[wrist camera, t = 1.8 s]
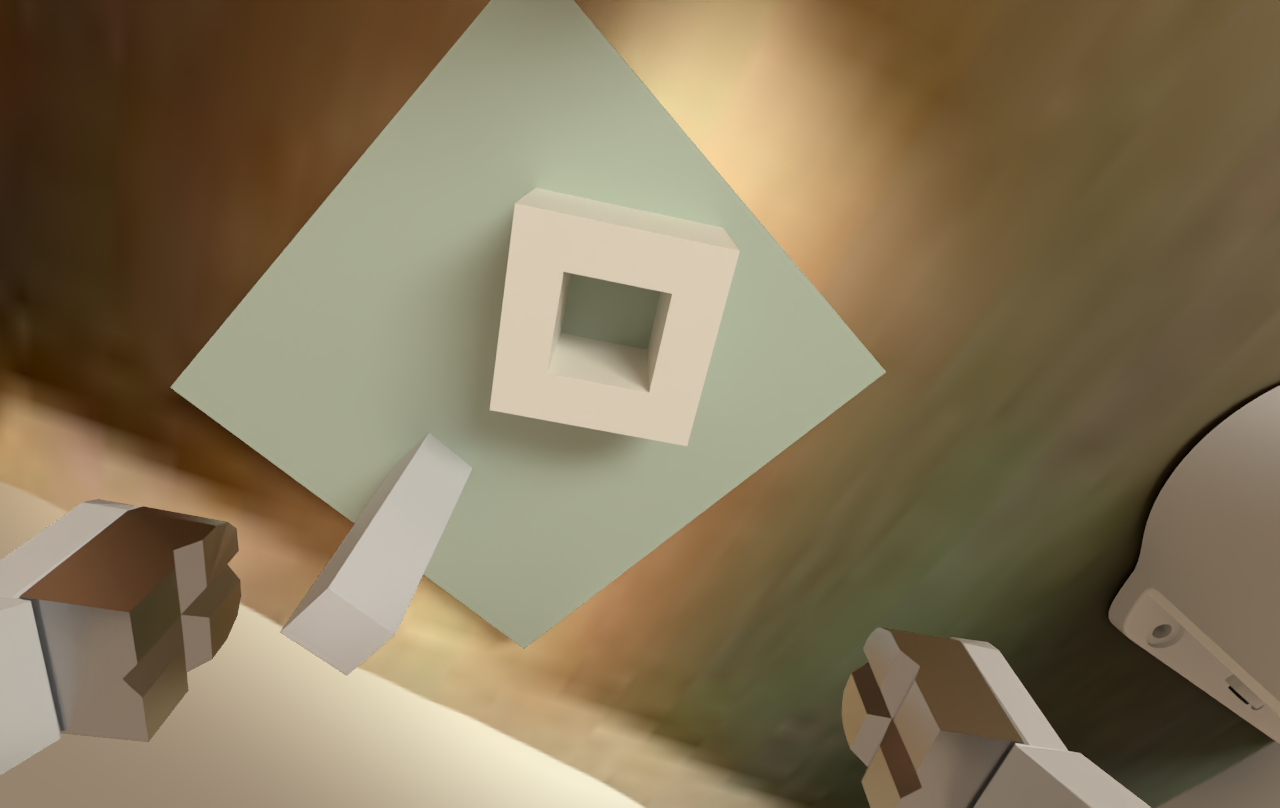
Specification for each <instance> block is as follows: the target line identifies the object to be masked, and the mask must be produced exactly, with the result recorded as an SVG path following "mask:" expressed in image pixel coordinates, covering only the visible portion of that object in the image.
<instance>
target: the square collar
mask: <svg viewBox="0 0 1280 808" xmlns="http://www.w3.org/2000/svg"><path fill="white" fill-rule="evenodd" d="M739 252H740V250H739V249H738V248H737V246H736V245H735V244H734V242H733V241H732V240H731V238H730V237H729V236H728V234H727V233H726V231H725V230H724V229H723V228H721V227H716V226H712V225H707V224H703V223H698V222H693V221H689V220H684V219H679V218H675V217H670V216H665V215H661V214H656V213H651V212H647V211H642V210H637V209H633V208H628V207H623V206H619V205H614V204H609V203H605V202H600V201H596V200H591V199H586V198H582V197H577V196H572V195H568V194H563V193H558V192H554V191H549V190H544V189H540V188H535V189H533V190H532V191H531V192H529V193H528V194H527V195H525V196H524V197H523V198H521V199H520V200H519V201H517V202H516V203H515V207H514V215H513V223H512V231H511V239H510V247H509V256H508V264H507V272H506V280H505V288H504V296H503V304H502V313H501V321H500V329H499V337H498V345H497V353H496V361H495V369H494V378H493V386H492V394H491V402H490V410H492V411H497V412H503V413H508V414H514V415H519V416H524V417H530V418H535V419H541V420H546V421H552V422H557V423H563V424H568V425H574V426H579V427H584V428H590V429H595V430H601V431H606V432H612V433H617V434H623V435H628V436H633V437H639V438H644V439H650V440H655V441H661V442H666V443H672V444H677V445H683V446H687V445H688V441H689V438H690V434H691V430H692V427H693V423H694V419H695V416H696V412H697V408H698V404H699V401H700V397H701V393H702V390H703V386H704V382H705V378H706V375H707V371H708V367H709V364H710V360H711V356H712V352H713V349H714V345H715V341H716V338H717V334H718V330H719V327H720V323H721V319H722V315H723V312H724V308H725V304H726V301H727V297H728V293H729V289H730V286H731V282H732V278H733V275H734V271H735V267H736V263H737V260H738V256H739ZM571 273H572V274H577V275H582V276H587V277H592V278H597V279H602V280H606V281H611V282H616V283H621V284H626V285H631V286H636V287H641V288H646V289H651V290H655V291H660V296H659V300H658V305H657V309H656V314H655V318H654V323H653V327H652V331H651V336H650V340H649V345H648V349H642V348H637V347H632V346H627V345H621V344H616V343H611V342H606V341H601V340H596V339H591V338H586V337H581V336H575V335H570V334H565V333H561V332H562V326H563V320H564V314H565V308H566V302H567V296H568V289H569V283H570V277H571Z"/></svg>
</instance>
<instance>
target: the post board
mask: <svg viewBox="0 0 1280 808" xmlns="http://www.w3.org/2000/svg"><path fill="white" fill-rule="evenodd" d="M535 188H540V189H544V190H549V191H554V192H558V193H563V194H568V195H572V196H577V197H582V198H586V199H591V200H596V201H600V202H605V203H609V204H614V205H619V206H623V207H628V208H633V209H637V210H642V211H647V212H651V213H656V214H661V215H665V216H670V217H675V218H679V219H684V220H689V221H693V222H698V223H703V224H707V225H712V226H716V227H721V228H723V229H724V230H725V231H726V233H727V234H728V236H729V237H730V238H731V240H732V241H733V242H734V244H735V245H736V246H737V248H738V249H739V250H740V252H739V256H738V260H737V263H736V267H735V271H734V275H733V278H732V282H731V286H730V289H729V293H728V297H727V301H726V304H725V308H724V312H723V315H722V319H721V323H720V327H719V330H718V334H717V338H716V341H715V345H714V349H713V352H712V356H711V360H710V364H709V367H708V371H707V375H706V378H705V382H704V386H703V390H702V393H701V397H700V401H699V404H698V408H697V412H696V416H695V419H694V423H693V427H692V430H691V434H690V438H689V441H688V445H687V446H683V445H677V444H672V443H666V442H661V441H655V440H650V439H644V438H639V437H633V436H628V435H623V434H617V433H612V432H606V431H601V430H595V429H590V428H584V427H579V426H574V425H568V424H563V423H557V422H552V421H546V420H541V419H535V418H530V417H524V416H519V415H514V414H508V413H503V412H497V411H492V410H490V402H491V394H492V386H493V378H494V369H495V361H496V353H497V345H498V337H499V329H500V321H501V313H502V304H503V296H504V288H505V280H506V272H507V264H508V256H509V247H510V239H511V231H512V223H513V215H514V207H515V203H516V202H517V201H519V200H520V199H521V198H523V197H524V196H525V195H527V194H528V193H529V192H531V191H532V190H533V189H535ZM659 296H660V291H655V290H651V289H646V288H641V287H636V286H631V285H626V284H621V283H616V282H611V281H606V280H602V279H597V278H592V277H587V276H582V275H577V274H572V273H571V277H570V283H569V289H568V296H567V302H566V308H565V314H564V320H563V326H562V332H561V333H565V334H570V335H575V336H581V337H586V338H591V339H596V340H601V341H606V342H611V343H616V344H621V345H627V346H632V347H637V348H642V349H648V345H649V340H650V336H651V331H652V327H653V323H654V318H655V314H656V309H657V305H658V300H659ZM885 372H886V371H885V370H884V369H883V368H882V367H881V365H880V364H879V363H878V362H877V361H876V359H875V358H874V357H873V356H872V355H871V353H870V352H869V351H868V350H867V349H866V348H865V346H864V345H863V344H862V343H861V342H860V340H859V339H858V338H857V337H856V336H855V334H854V333H853V332H852V331H851V330H850V328H849V327H848V326H847V325H846V324H845V323H844V321H843V320H842V319H841V318H840V317H839V315H838V314H837V313H836V312H835V311H834V309H833V308H832V307H831V306H830V305H829V303H828V302H827V301H826V300H825V299H824V298H823V296H822V295H821V294H820V293H819V292H818V290H817V289H816V288H815V287H814V286H813V284H812V283H811V282H810V281H809V280H808V278H807V277H806V276H805V275H804V274H803V273H802V271H801V270H800V269H799V268H798V267H797V265H796V264H795V263H794V262H793V261H792V259H791V258H790V257H789V256H788V255H787V254H786V252H785V251H784V250H783V249H782V248H781V246H780V245H779V244H778V243H777V242H776V240H775V239H774V238H773V237H772V236H771V234H770V233H769V232H768V231H767V230H766V229H765V227H764V226H763V225H762V224H761V223H760V221H759V220H758V219H757V218H756V217H755V215H754V214H753V213H752V212H751V211H750V209H749V208H748V207H747V206H746V205H745V204H744V202H743V201H742V200H741V199H740V198H739V196H738V195H737V194H736V193H735V192H734V190H733V189H732V188H731V187H730V186H729V184H728V183H727V182H726V181H725V180H724V179H723V177H722V176H721V175H720V174H719V173H718V171H717V170H716V169H715V168H714V167H713V165H712V164H711V163H710V162H709V161H708V159H707V158H706V157H705V156H704V155H703V154H702V152H701V151H700V150H699V149H698V148H697V146H696V145H695V144H694V143H693V142H692V140H691V139H690V138H689V137H688V136H687V134H686V133H685V132H684V131H683V130H682V129H681V127H680V126H679V125H678V124H677V123H676V121H675V120H674V119H673V118H672V117H671V115H670V114H669V113H668V112H667V111H666V109H665V108H664V107H663V106H662V105H661V104H660V102H659V101H658V100H657V99H656V98H655V96H654V95H653V94H652V93H651V92H650V90H649V89H648V88H647V87H646V86H645V84H644V83H643V82H642V81H641V80H640V79H639V77H638V76H637V75H636V74H635V73H634V71H633V70H632V69H631V68H630V67H629V65H628V64H627V63H626V62H625V61H624V59H623V58H622V57H621V56H620V55H619V54H618V52H617V51H616V50H615V49H614V48H613V46H612V45H611V44H610V43H609V42H608V40H607V39H606V38H605V37H604V36H603V34H602V33H601V32H600V31H599V30H598V29H597V27H596V26H595V25H594V24H593V23H592V21H591V20H590V19H589V18H588V17H587V15H586V14H585V13H584V12H583V11H582V9H581V8H580V7H579V6H578V5H577V4H576V2H575V1H574V0H491V1H490V2H489V3H488V4H487V5H486V7H485V8H484V9H483V10H482V11H481V13H480V14H479V15H478V16H477V17H476V19H475V20H474V21H473V22H472V24H471V25H470V26H469V27H468V28H467V30H466V31H465V32H464V33H463V34H462V36H461V37H460V38H459V39H458V40H457V42H456V43H455V44H454V45H453V46H452V48H451V49H450V50H449V51H448V53H447V54H446V55H445V56H444V57H443V59H442V60H441V61H440V62H439V63H438V65H437V66H436V67H435V68H434V69H433V71H432V72H431V73H430V74H429V75H428V77H427V78H426V79H425V80H424V82H423V83H422V84H421V85H420V86H419V88H418V89H417V90H416V91H415V92H414V94H413V95H412V96H411V97H410V98H409V100H408V101H407V102H406V103H405V104H404V106H403V107H402V108H401V109H400V111H399V112H398V113H397V114H396V115H395V117H394V118H393V119H392V120H391V121H390V123H389V124H388V125H387V126H386V127H385V129H384V130H383V131H382V132H381V133H380V135H379V136H378V137H377V138H376V140H375V141H374V142H373V143H372V144H371V146H370V147H369V148H368V149H367V150H366V152H365V153H364V154H363V155H362V156H361V158H360V159H359V160H358V161H357V162H356V164H355V165H354V166H353V167H352V168H351V170H350V171H349V172H348V173H347V175H346V176H345V177H344V178H343V179H342V181H341V182H340V183H339V184H338V185H337V187H336V188H335V189H334V190H333V191H332V193H331V194H330V195H329V196H328V197H327V199H326V200H325V201H324V202H323V204H322V205H321V206H320V207H319V208H318V210H317V211H316V212H315V213H314V214H313V216H312V217H311V218H310V219H309V220H308V222H307V223H306V224H305V225H304V226H303V228H302V229H301V230H300V231H299V233H298V234H297V235H296V236H295V237H294V239H293V240H292V241H291V242H290V243H289V245H288V246H287V247H286V248H285V249H284V251H283V252H282V253H281V254H280V255H279V257H278V258H277V259H276V260H275V262H274V263H273V264H272V265H271V266H270V268H269V269H268V270H267V271H266V272H265V274H264V275H263V276H262V277H261V278H260V280H259V281H258V282H257V283H256V284H255V286H254V287H253V288H252V289H251V291H250V292H249V293H248V294H247V295H246V297H245V298H244V299H243V300H242V301H241V303H240V304H239V305H238V306H237V307H236V309H235V310H234V311H233V312H232V313H231V315H230V316H229V317H228V318H227V320H226V321H225V322H224V323H223V324H222V326H221V327H220V328H219V329H218V330H217V332H216V333H215V334H214V335H213V336H212V338H211V339H210V340H209V341H208V342H207V344H206V345H205V346H204V347H203V348H202V350H201V351H200V352H199V353H198V355H197V356H196V357H195V358H194V359H193V361H192V362H191V363H190V364H189V365H188V367H187V368H186V369H185V370H184V371H183V373H182V374H181V375H180V376H179V377H178V379H177V380H176V381H175V382H174V384H173V385H172V386H171V387H170V388H172V389H173V390H174V391H176V392H177V393H178V394H180V395H181V396H183V397H184V398H185V399H187V400H188V401H189V402H191V403H192V404H193V405H195V406H196V407H197V408H199V409H200V410H201V411H203V412H204V413H206V414H207V415H208V416H210V417H211V418H212V419H214V420H215V421H216V422H218V423H219V424H220V425H222V426H223V427H224V428H226V429H227V430H228V431H230V432H231V433H233V434H234V435H235V436H237V437H238V438H239V439H241V440H242V441H243V442H245V443H246V444H247V445H249V446H250V447H251V448H253V449H254V450H256V451H257V452H258V453H260V454H261V455H262V456H264V457H265V458H266V459H268V460H269V461H270V462H272V463H273V464H274V465H276V466H277V467H279V468H280V469H281V470H283V471H284V472H285V473H287V474H288V475H289V476H291V477H292V478H293V479H295V480H296V481H297V482H299V483H300V484H302V485H303V486H304V487H306V488H307V489H308V490H310V491H311V492H312V493H314V494H315V495H316V496H318V497H319V498H320V499H322V500H323V501H324V502H326V503H327V504H329V505H330V506H331V507H333V508H334V509H335V510H337V511H338V512H339V513H341V514H342V515H343V516H345V517H346V518H347V519H349V520H350V521H352V522H353V523H354V525H353V527H352V528H351V530H350V531H349V533H348V534H347V536H346V537H345V539H344V540H343V541H342V543H341V544H340V546H339V547H338V549H337V550H336V552H335V553H334V555H333V556H332V557H331V559H330V560H329V562H328V563H327V565H326V566H325V568H324V569H323V571H322V572H321V573H320V575H319V576H318V578H317V579H316V581H315V582H314V584H313V585H312V586H311V588H310V589H309V591H308V592H307V594H306V595H305V597H304V598H303V600H302V601H301V602H300V604H299V605H298V607H297V608H296V610H295V611H294V613H293V614H292V616H291V617H290V618H289V620H288V621H287V623H286V624H285V626H284V627H283V629H282V630H281V632H280V633H282V634H284V635H285V636H287V637H288V638H290V639H291V640H293V641H294V642H296V643H297V644H299V645H301V646H302V647H304V648H305V649H307V650H308V651H310V652H311V653H313V654H314V655H316V656H317V657H319V658H320V659H322V660H323V661H325V662H327V663H328V664H330V665H331V666H333V667H334V668H336V669H337V670H339V671H340V672H342V673H343V674H345V675H348V674H349V673H350V672H351V671H352V670H354V669H355V668H356V667H357V666H359V665H360V664H361V663H362V662H363V661H365V660H366V659H367V658H368V657H369V656H370V655H372V654H373V653H374V652H375V651H376V650H378V649H379V648H380V647H381V646H382V645H384V644H385V643H386V642H387V641H388V640H389V639H391V638H392V637H393V636H394V635H395V634H396V632H397V630H398V628H399V625H400V623H401V621H402V619H403V617H404V615H405V612H406V610H407V608H408V606H409V604H410V602H411V600H412V597H413V595H414V593H415V591H416V589H417V587H418V584H419V582H420V580H421V578H422V576H423V575H425V576H426V577H427V578H429V579H430V580H431V581H433V582H434V583H435V584H437V585H438V586H439V587H441V588H442V589H443V590H445V591H446V592H448V593H449V594H450V595H452V596H453V597H454V598H456V599H457V600H458V601H460V602H461V603H462V604H464V605H465V606H466V607H468V608H469V609H470V610H472V611H473V612H475V613H476V614H477V615H479V616H480V617H481V618H483V619H484V620H485V621H487V622H488V623H489V624H491V625H492V626H493V627H495V628H496V629H498V630H499V631H500V632H502V633H503V634H504V635H506V636H507V637H508V638H510V639H511V640H512V641H514V642H515V643H516V644H518V645H519V646H521V647H522V648H523V649H524V648H526V647H527V646H528V645H530V644H531V643H532V642H533V641H535V640H536V639H537V638H539V637H540V636H541V635H543V634H544V633H545V632H547V631H548V630H549V629H550V628H552V627H553V626H554V625H556V624H557V623H558V622H560V621H561V620H562V619H564V618H565V617H566V616H567V615H569V614H570V613H571V612H573V611H574V610H575V609H577V608H578V607H579V606H581V605H582V604H583V603H584V602H586V601H587V600H588V599H590V598H591V597H592V596H594V595H595V594H596V593H598V592H599V591H600V590H601V589H603V588H604V587H605V586H607V585H608V584H609V583H611V582H612V581H613V580H615V579H616V578H617V577H618V576H620V575H621V574H622V573H624V572H625V571H626V570H628V569H629V568H630V567H632V566H633V565H634V564H635V563H637V562H638V561H639V560H641V559H642V558H643V557H645V556H646V555H647V554H649V553H650V552H651V551H652V550H654V549H655V548H656V547H658V546H659V545H660V544H662V543H663V542H664V541H666V540H667V539H668V538H669V537H671V536H672V535H673V534H675V533H676V532H677V531H679V530H680V529H681V528H683V527H684V526H685V525H686V524H688V523H689V522H690V521H692V520H693V519H694V518H696V517H697V516H698V515H700V514H701V513H702V512H704V511H705V510H706V509H707V508H709V507H710V506H711V505H713V504H714V503H715V502H717V501H718V500H719V499H721V498H722V497H723V496H724V495H726V494H727V493H728V492H730V491H731V490H732V489H734V488H735V487H736V486H738V485H739V484H740V483H741V482H743V481H744V480H745V479H747V478H748V477H749V476H751V475H752V474H753V473H755V472H756V471H757V470H758V469H760V468H761V467H762V466H764V465H765V464H766V463H768V462H769V461H770V460H772V459H773V458H774V457H775V456H777V455H778V454H779V453H781V452H782V451H783V450H785V449H786V448H787V447H789V446H790V445H791V444H792V443H794V442H795V441H796V440H798V439H799V438H800V437H802V436H803V435H804V434H806V433H807V432H808V431H809V430H811V429H812V428H813V427H815V426H816V425H817V424H819V423H820V422H821V421H823V420H824V419H825V418H826V417H828V416H829V415H830V414H832V413H833V412H834V411H836V410H837V409H838V408H840V407H841V406H842V405H843V404H845V403H846V402H847V401H849V400H850V399H851V398H853V397H854V396H855V395H857V394H858V393H859V392H860V391H862V390H863V389H864V388H866V387H867V386H868V385H870V384H871V383H872V382H874V381H875V380H876V379H877V378H879V377H880V376H881V375H883V374H884V373H885Z"/></svg>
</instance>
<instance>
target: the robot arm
mask: <svg viewBox="0 0 1280 808" xmlns="http://www.w3.org/2000/svg"><path fill="white" fill-rule="evenodd" d="M238 551H239V549H238V539H237V530H236V528H235V527H234V526H232V525H231V524H230V523H228V522H225V521H219V520H214V519H208V518H203V517H197V516H192V515H187V514H181V513H176V512H170V511H165V510H159V509H154V508H148V507H138V506H134V505H128V504H123V503H117V502H111V501H106V500H100V499H97V500H92V501H87V502H82V503H80V504H79V505H78V506H76V507H75V508H73V509H72V510H70V511H69V512H68V513H66V514H65V515H63V516H62V517H61V518H59V519H58V520H56V521H55V522H53V523H52V524H51V525H49V526H48V527H46V528H45V529H44V530H42V531H41V532H39V533H38V534H36V535H35V536H34V537H32V538H31V539H29V540H28V541H27V542H25V543H24V544H22V545H21V546H19V547H18V548H17V549H15V550H14V551H12V552H11V553H9V554H8V555H7V556H5V557H4V558H2V559H1V560H0V775H2V774H4V773H5V772H7V771H8V770H10V769H12V768H13V767H15V766H17V765H18V764H20V763H21V762H23V761H25V760H26V759H28V758H30V757H31V756H33V755H35V754H36V753H38V752H39V751H41V750H43V749H44V748H46V747H48V746H49V745H51V744H53V743H54V742H56V741H57V740H59V739H60V738H61V733H64V734H74V735H84V736H94V737H104V738H115V739H124V740H135V741H145V742H149V740H150V739H151V738H152V737H153V735H154V734H155V733H156V731H157V730H158V729H159V727H160V726H161V725H162V724H163V722H164V721H165V720H166V719H167V717H168V716H169V715H170V713H171V712H172V711H173V709H174V708H175V707H176V705H177V704H178V703H179V702H180V700H181V699H182V698H183V696H184V695H185V694H186V693H187V691H188V683H187V672H188V671H190V670H192V669H194V668H196V667H198V666H200V665H201V664H204V663H206V662H207V661H209V660H211V659H213V657H214V656H215V655H216V653H217V651H218V650H219V649H220V648H221V646H222V645H223V644H224V642H225V641H226V639H227V638H228V635H229V633H230V631H231V628H232V626H233V624H234V621H235V619H236V617H237V615H238V609H239V603H240V598H241V588H240V579H239V578H238V577H237V576H236V574H235V573H234V572H233V571H232V570H231V568H230V567H229V566H228V565H227V564H228V562H229V561H230V560H231V559H232V558H233V557H234V556H235V554H236V553H237V552H238ZM1109 620H1110V622H1111V623H1112V624H1113V625H1114V626H1115V627H1116V628H1117V629H1118V630H1120V631H1121V632H1122V633H1123V634H1124V635H1125V636H1126V637H1128V638H1129V639H1130V640H1132V641H1133V642H1135V643H1136V644H1137V645H1139V646H1140V647H1142V648H1143V649H1144V650H1146V651H1147V652H1149V653H1150V654H1152V655H1153V656H1154V657H1156V658H1157V659H1159V660H1160V661H1162V662H1163V663H1164V664H1166V665H1167V666H1169V667H1170V668H1172V669H1173V670H1174V671H1176V672H1177V673H1179V674H1180V675H1182V676H1183V677H1184V678H1186V679H1187V680H1189V681H1190V682H1192V683H1193V684H1194V685H1196V686H1197V687H1199V688H1200V689H1202V690H1203V691H1204V692H1206V693H1207V694H1209V695H1210V696H1212V697H1213V698H1214V699H1216V700H1217V701H1219V702H1220V703H1222V704H1223V705H1224V706H1226V707H1227V708H1229V709H1230V710H1231V711H1233V712H1234V713H1236V714H1237V715H1239V716H1240V717H1241V718H1243V719H1244V720H1246V721H1247V722H1249V723H1250V724H1251V725H1253V726H1254V727H1256V728H1257V729H1259V730H1260V731H1261V732H1263V733H1264V734H1266V735H1267V736H1269V737H1270V738H1271V739H1273V740H1274V741H1276V742H1277V743H1279V744H1280V386H1278V387H1276V388H1274V389H1272V390H1270V391H1268V392H1266V393H1265V394H1263V395H1261V396H1259V397H1258V398H1256V399H1254V400H1253V401H1251V402H1250V403H1248V404H1246V405H1245V406H1243V407H1242V408H1240V409H1239V410H1237V411H1236V412H1235V413H1233V414H1232V415H1231V416H1229V417H1228V418H1227V419H1225V420H1224V421H1223V422H1222V423H1220V424H1219V425H1218V426H1217V427H1215V428H1214V429H1213V430H1212V431H1211V432H1210V433H1209V434H1207V435H1206V436H1205V437H1204V438H1203V439H1202V440H1201V441H1200V442H1199V443H1198V444H1197V445H1196V446H1195V447H1194V448H1193V449H1192V450H1191V451H1190V452H1189V453H1188V455H1187V456H1186V457H1185V458H1184V459H1183V460H1182V461H1181V463H1180V464H1179V465H1178V466H1177V468H1176V469H1175V470H1174V472H1173V473H1172V474H1171V476H1170V477H1169V479H1168V480H1167V482H1166V483H1165V485H1164V486H1163V488H1162V490H1161V491H1160V493H1159V495H1158V497H1157V499H1156V501H1155V503H1154V505H1153V508H1152V510H1151V512H1150V515H1149V518H1148V520H1147V524H1146V527H1145V531H1144V536H1143V541H1142V547H1141V552H1140V556H1139V559H1138V563H1137V565H1136V568H1135V570H1134V571H1133V573H1132V574H1131V575H1130V577H1129V578H1128V579H1127V581H1126V582H1125V584H1124V585H1123V586H1122V588H1121V589H1120V591H1119V592H1118V594H1117V596H1116V597H1115V599H1114V601H1113V602H1112V604H1111V607H1110V609H1109ZM863 650H864V652H865V655H866V658H867V660H868V663H867V664H865V665H864V666H862V667H861V668H859V669H857V670H856V671H854V672H853V673H851V676H850V678H849V680H848V683H847V685H846V688H845V690H844V694H843V705H842V719H843V726H844V732H845V735H846V738H847V741H848V744H849V747H850V749H851V750H852V751H853V752H854V753H855V754H856V755H857V756H858V757H859V759H860V760H861V761H862V762H863V763H864V764H865V765H866V766H867V768H866V771H865V773H864V776H863V779H862V781H861V782H862V785H863V788H864V791H865V794H866V796H867V799H868V802H869V805H870V808H1151V807H1150V806H1149V805H1147V804H1146V803H1145V802H1143V801H1142V800H1141V799H1139V798H1138V797H1137V796H1136V795H1134V794H1133V793H1132V792H1130V791H1129V790H1128V789H1126V788H1125V787H1124V786H1123V785H1121V784H1120V783H1119V782H1117V781H1116V780H1115V779H1113V778H1112V777H1111V776H1110V775H1108V774H1107V773H1106V772H1104V771H1103V770H1102V769H1100V768H1099V767H1098V766H1097V765H1095V764H1094V763H1093V762H1091V761H1090V760H1089V759H1087V758H1086V757H1085V756H1084V755H1082V754H1081V753H1077V752H1071V751H1068V750H1067V748H1066V747H1065V745H1064V744H1063V742H1062V741H1061V740H1060V738H1059V737H1058V735H1057V734H1056V732H1055V731H1054V729H1053V728H1052V727H1051V725H1050V724H1049V722H1048V721H1047V719H1046V718H1045V716H1044V715H1043V713H1042V712H1041V711H1040V709H1039V708H1038V706H1037V705H1036V703H1035V702H1034V700H1033V699H1032V697H1031V696H1030V695H1029V693H1028V692H1027V690H1026V689H1025V687H1024V686H1023V684H1022V683H1021V682H1020V680H1019V679H1018V677H1017V676H1016V674H1015V673H1014V671H1013V670H1012V668H1011V667H1010V666H1009V664H1008V663H1007V661H1006V660H1005V658H1004V657H1003V655H1002V654H1001V652H1000V651H999V650H998V649H997V648H995V647H994V646H992V645H991V644H990V643H988V642H983V641H976V640H969V639H961V638H954V637H951V638H947V637H941V636H935V635H928V634H922V633H915V632H909V631H902V630H896V629H889V628H883V627H878V628H877V629H876V630H875V631H873V632H872V633H871V634H870V636H869V638H868V640H867V642H866V644H865V646H864V648H863Z"/></svg>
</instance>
